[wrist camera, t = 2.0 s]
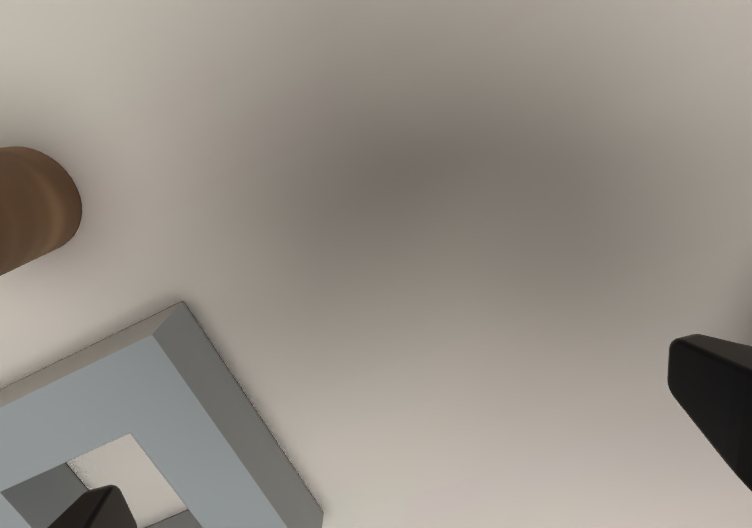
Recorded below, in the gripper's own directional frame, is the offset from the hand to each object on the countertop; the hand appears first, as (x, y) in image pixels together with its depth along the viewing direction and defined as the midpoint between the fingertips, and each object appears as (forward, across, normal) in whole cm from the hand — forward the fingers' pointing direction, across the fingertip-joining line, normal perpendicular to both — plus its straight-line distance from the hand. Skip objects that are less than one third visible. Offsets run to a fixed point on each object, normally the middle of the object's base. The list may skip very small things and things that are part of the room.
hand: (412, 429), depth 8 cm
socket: (+13, +11, +10) cm, 20 cm away
